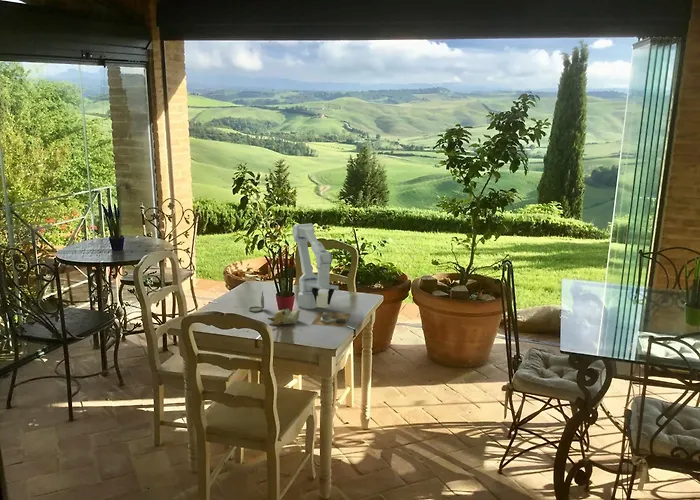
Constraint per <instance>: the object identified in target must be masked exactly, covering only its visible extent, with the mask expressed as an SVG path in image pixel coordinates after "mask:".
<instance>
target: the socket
mask: <svg viewBox="0 0 700 500" xmlns="http://www.w3.org/2000/svg"><path fill="white" fill-rule="evenodd" d="M329 306H330V305H328V292H327V293H326V292H323V293H322V292H318V295H317V299H316V308H324V309H328V307H329Z"/></svg>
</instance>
